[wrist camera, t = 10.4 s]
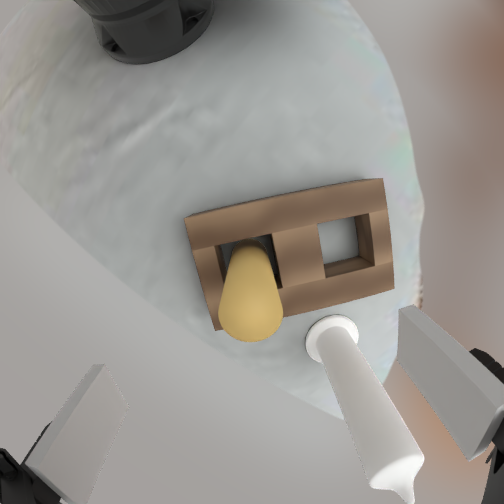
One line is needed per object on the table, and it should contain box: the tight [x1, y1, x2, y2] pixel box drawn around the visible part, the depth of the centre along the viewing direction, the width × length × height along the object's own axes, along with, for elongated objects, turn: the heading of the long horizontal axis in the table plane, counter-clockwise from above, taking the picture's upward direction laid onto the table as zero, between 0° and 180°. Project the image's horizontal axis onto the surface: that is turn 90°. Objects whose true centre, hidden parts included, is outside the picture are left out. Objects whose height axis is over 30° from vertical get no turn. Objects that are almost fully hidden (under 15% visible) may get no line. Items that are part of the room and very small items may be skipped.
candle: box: [305, 315, 424, 504], centre depth 22 cm, size 7×7×25 cm
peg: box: [218, 239, 283, 342], centre depth 25 cm, size 4×4×15 cm
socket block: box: [184, 178, 394, 331], centre depth 30 cm, size 12×20×4 cm, turn 102°
